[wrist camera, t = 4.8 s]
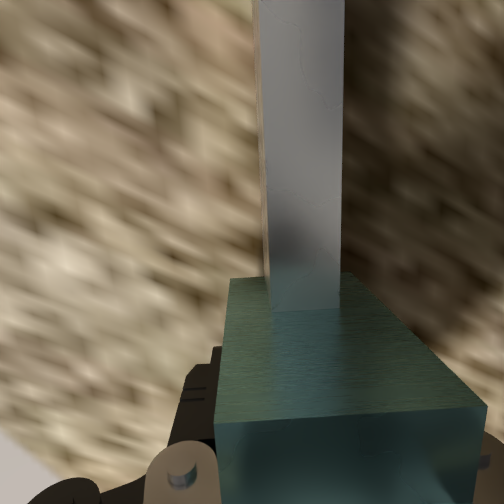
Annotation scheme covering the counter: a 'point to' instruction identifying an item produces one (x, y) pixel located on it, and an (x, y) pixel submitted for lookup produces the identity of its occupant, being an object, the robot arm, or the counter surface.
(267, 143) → the tool
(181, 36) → the counter surface
